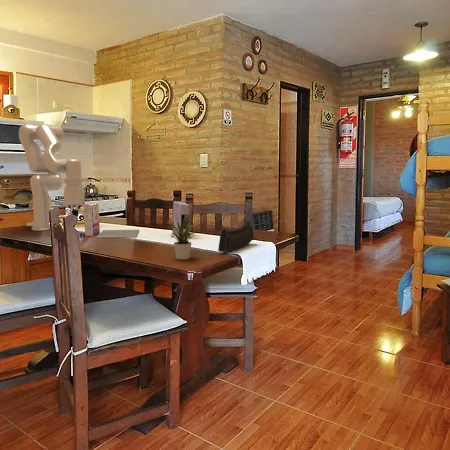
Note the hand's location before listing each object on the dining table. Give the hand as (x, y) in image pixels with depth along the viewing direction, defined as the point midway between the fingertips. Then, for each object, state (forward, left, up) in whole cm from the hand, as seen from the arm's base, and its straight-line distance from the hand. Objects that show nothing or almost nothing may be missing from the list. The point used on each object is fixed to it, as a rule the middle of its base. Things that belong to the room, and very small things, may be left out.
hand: (75, 217), depth 236 cm
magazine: (+80, -47, -10) cm, 93 cm away
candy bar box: (+8, 0, -9) cm, 13 cm away
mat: (+22, 0, -9) cm, 24 cm away
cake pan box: (+55, -8, -9) cm, 57 cm away
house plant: (+53, -66, -9) cm, 85 cm away
